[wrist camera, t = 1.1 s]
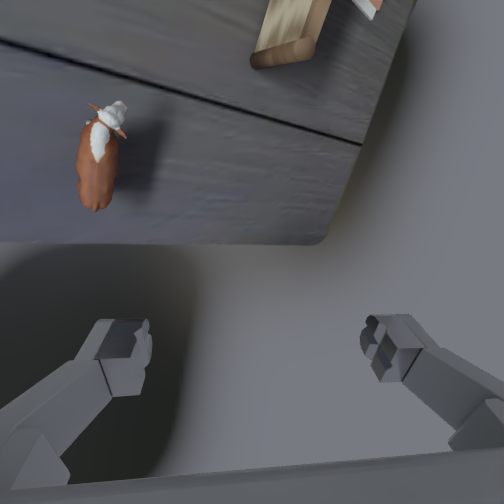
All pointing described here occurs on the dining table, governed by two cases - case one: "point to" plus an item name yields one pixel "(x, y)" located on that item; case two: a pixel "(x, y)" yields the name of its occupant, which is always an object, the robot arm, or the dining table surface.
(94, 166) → the bull figurine
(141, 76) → the dining table surface
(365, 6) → the card
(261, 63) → the fence panel
